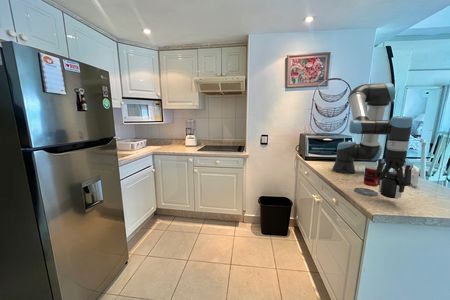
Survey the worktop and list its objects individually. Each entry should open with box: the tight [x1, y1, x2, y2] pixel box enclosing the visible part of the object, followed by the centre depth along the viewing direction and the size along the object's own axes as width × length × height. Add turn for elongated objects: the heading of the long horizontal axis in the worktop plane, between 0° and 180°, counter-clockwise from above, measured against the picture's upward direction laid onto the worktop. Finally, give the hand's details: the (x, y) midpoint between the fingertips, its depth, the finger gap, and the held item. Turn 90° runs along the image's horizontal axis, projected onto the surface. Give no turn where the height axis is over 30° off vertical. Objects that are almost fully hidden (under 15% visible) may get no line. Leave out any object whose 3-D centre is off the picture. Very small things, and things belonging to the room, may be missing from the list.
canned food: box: [363, 165, 379, 187], centre depth 119 cm, size 8×8×11 cm
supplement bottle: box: [379, 171, 399, 199], centre depth 93 cm, size 7×7×12 cm
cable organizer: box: [392, 164, 421, 188], centre depth 120 cm, size 15×11×12 cm
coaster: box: [353, 187, 379, 197], centre depth 107 cm, size 11×11×1 cm
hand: (389, 194), depth 94 cm, fingers closed on supplement bottle, 7 cm apart
